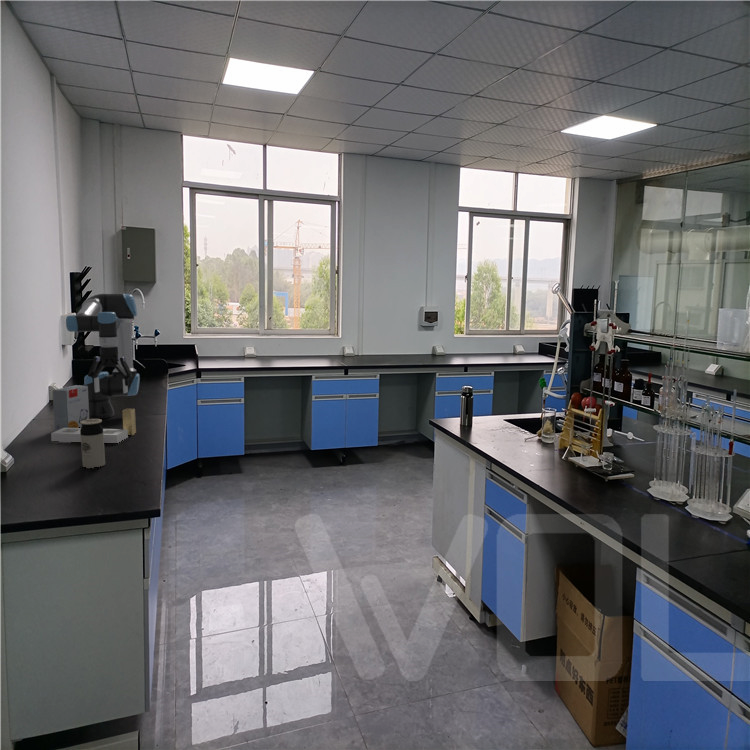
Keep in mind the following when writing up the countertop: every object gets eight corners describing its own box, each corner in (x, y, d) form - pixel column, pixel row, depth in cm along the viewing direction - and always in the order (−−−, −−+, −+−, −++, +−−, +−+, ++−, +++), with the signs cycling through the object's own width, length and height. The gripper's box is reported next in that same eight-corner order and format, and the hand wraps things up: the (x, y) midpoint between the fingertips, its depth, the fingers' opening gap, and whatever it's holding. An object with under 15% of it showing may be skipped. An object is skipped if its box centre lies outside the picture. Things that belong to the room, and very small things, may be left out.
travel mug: (97, 461, 228) (94, 417, 225) (109, 464, 224) (106, 420, 221) (78, 466, 221) (75, 421, 218) (90, 470, 217) (87, 424, 215)
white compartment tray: (64, 436, 264) (64, 427, 263) (128, 437, 262) (127, 429, 262) (51, 441, 254) (50, 433, 253) (117, 443, 253) (116, 435, 252)
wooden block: (127, 433, 271) (126, 408, 269) (136, 433, 270) (134, 408, 268) (123, 435, 267) (122, 410, 265) (132, 435, 266) (130, 410, 265)
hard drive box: (68, 432, 271) (65, 391, 267) (54, 431, 272) (51, 390, 269) (90, 424, 286) (88, 385, 283) (77, 423, 287) (74, 384, 284)
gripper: (77, 346, 255) (80, 393, 258) (130, 347, 253) (133, 394, 256) (87, 344, 262) (90, 390, 266) (139, 346, 260) (141, 391, 264)
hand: (111, 392), depth 261 cm, fingers open, 13 cm apart
